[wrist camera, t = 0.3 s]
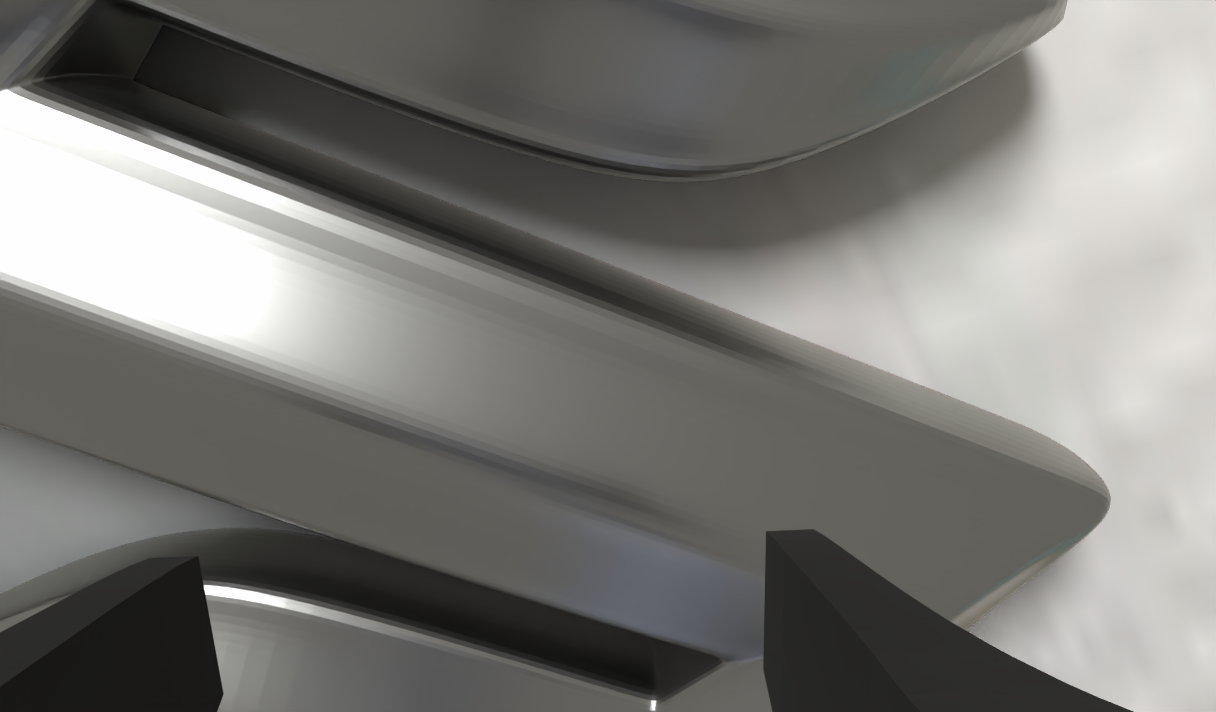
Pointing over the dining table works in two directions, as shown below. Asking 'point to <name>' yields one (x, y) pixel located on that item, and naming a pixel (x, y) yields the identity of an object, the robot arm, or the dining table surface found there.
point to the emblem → (486, 349)
